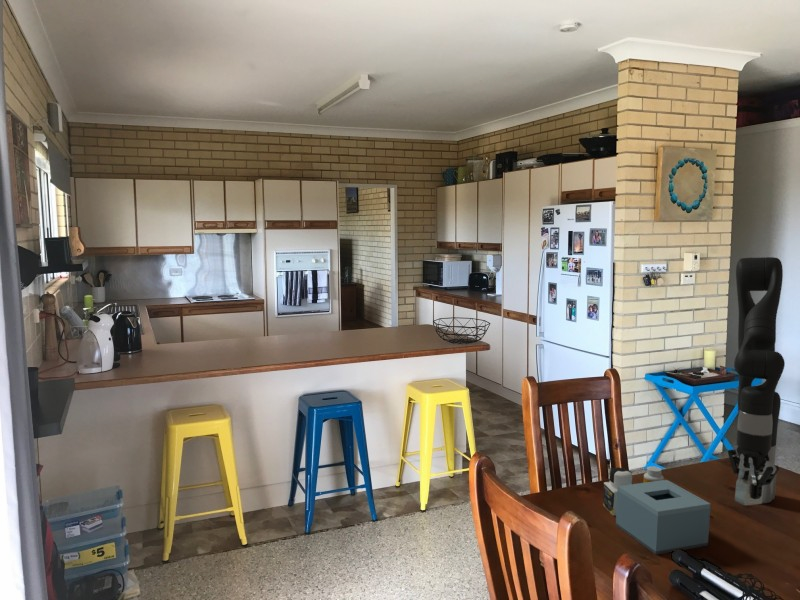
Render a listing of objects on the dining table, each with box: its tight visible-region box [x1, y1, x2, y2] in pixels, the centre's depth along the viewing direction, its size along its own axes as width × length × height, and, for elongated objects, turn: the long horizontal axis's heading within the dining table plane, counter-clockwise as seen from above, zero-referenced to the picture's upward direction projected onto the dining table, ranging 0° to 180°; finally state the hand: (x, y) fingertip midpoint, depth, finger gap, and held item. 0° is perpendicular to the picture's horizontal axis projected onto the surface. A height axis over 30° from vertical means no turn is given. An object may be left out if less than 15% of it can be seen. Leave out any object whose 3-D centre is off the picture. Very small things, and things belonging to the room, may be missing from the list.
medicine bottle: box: [602, 467, 633, 517], centre depth 181 cm, size 7×7×12 cm
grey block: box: [734, 478, 764, 506], centre depth 158 cm, size 6×3×6 cm, turn 107°
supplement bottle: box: [642, 465, 665, 483], centre depth 186 cm, size 6×6×10 cm
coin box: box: [615, 479, 712, 555], centre depth 166 cm, size 16×16×11 cm
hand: (749, 495), depth 158 cm, fingers closed on grey block, 2 cm apart
